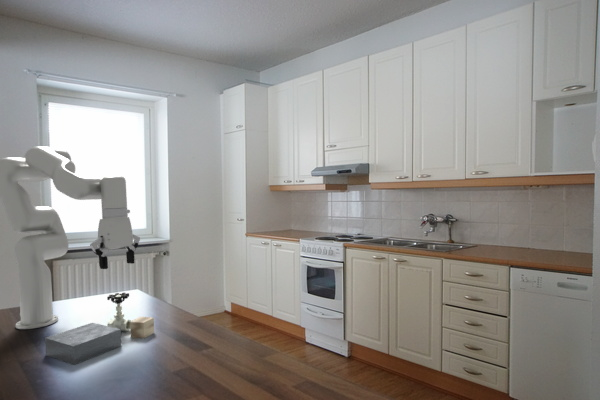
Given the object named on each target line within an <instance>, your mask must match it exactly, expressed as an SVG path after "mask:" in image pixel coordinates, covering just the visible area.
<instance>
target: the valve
mask: <svg viewBox="0 0 600 400" xmlns="http://www.w3.org/2000/svg"><path fill="white" fill-rule="evenodd" d="M129 297H130V293H126V292H121V293H119V292H116V293H114V294H109V295H108V296H107V301H110V302H112V303H115V304H116V306H115V313H114V315H113V317H114V318H110V319H109V321H108V322H107V325H106V326H109V327H113V328H117V329H121V332H130V322H131V321H132V320H130V319H124V317H125V313H124V312H123V311H122V310H123V307H122V306H123V305H121V304H122V303H123V302H124V301H126V300H127V299H128V298H129Z"/></svg>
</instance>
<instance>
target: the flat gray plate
mask: <svg viewBox="0 0 600 400" xmlns="http://www.w3.org/2000/svg"><path fill="white" fill-rule="evenodd" d="M121 332H122V331H121V329H117V328H113V327H109V326H107V325H104V324H100V323H96V322H95V323H94V322H90V323H88V324H83V325H80V326H78V327H74V328H71V329H68V330H66V331H62V332H60V333H56V334H52V335H49V336H47V337H46V336H45V337H44V343H45V344H44V345H45V356H46V357H50V358H53V359H55V360H59V361H61V362H64V363H67V364H70V365H74V366H75V365H77V364H81V363H83V362H85V361H87V360H90V359H93V358H96V357H97V356H98V357H99V356H100V355H102V354H105V353H108V352H110V351H113V350H116V349H117V348H120V347H122V333H121Z"/></svg>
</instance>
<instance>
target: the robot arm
mask: <svg viewBox="0 0 600 400" xmlns="http://www.w3.org/2000/svg"><path fill="white" fill-rule="evenodd" d="M23 156H24V157H10V156H9V157H1V158H0V201H1V203H2V207H3V210H4V212H5V215H6V218H7V221H8V224H9V226H10V228H11V230H12V232H14V233H16V234H29V235H26V236H23V237H20V238H18V240H16V241H15V243H14V244H13V245H14V246H13V254H14V255H13V256H14V258H15V261H16V265H17V272H18V273H17V274H18V290H19V291H18V292H19V309H20V310H19V311H20V313H19V316H20V320H19V321H17V322H16V323H15V328H16V329H18V330H33V329H37V328H43V327H48V326H49V325H50V326H51V325H52V324H55V323H57V322H58V321H59V316H58V315H56V314H54V312H53V311H54V310H53V308H54V307H53V306H54V305H53V290H52V289H53V288H52V286H53V285H52V273H51V270H50V267H49V266H48V265H47V263H46V262H45V261H47V260H52V259H53V260H54V259H57V258H60V257H62V256H65V255H66V253H68V250H69V240H68V237H67V235H66V230H65V228H64V226H63V223H62V221H61V217H60V215H59V214H58V212H57V211H56V210H55V209H54V208H53V207H50V206H48V205H47V206H45V205H41V206H36V205H35V204H34V203H33V201H32V198H31V195H30V194H29V192H28V191H27V190H26V189H25V188H24V186H22V185H20V183H18V182H30V183H31V182H34V183H35V182H36V183H38V182H44V181H47V180H49V179H50V180H52V183H53V185H54V187H55V188H56V190H57V191H59V192H60V193H62V194H63V195H65V196H67V197H69V198H71V199H74V200H78V201H79V200H80V201H84V200H85V201H86V200H101V201H100V202H101V218H99V223H98V229H97V239H96V240H94V241H93V242H91V243H90V244H89V246H90V248H91V250H92V252H93V253H94V254H95V255H96V256H97V257H98V263H99V264H98V265H99V268H100V270H107V269H108V268H109V264H108V263H109V261H108V260H109V259H108V256H106V255H107V254H108V252H109V251H110V250H111V251H112V250H118V249H124V248H125V249H126V250H127V251H126V263H127V264H130V265H131V264H135V260H136V259H135V252H136V249H137V247H139V243H140V241H141V237H140V236H138V235H135V234H133V227H132V222H131V219H130V217H129V215H128V214H130V213H131V210H130V209H128V199H127V181H126V177H124V176H121V175H107V176H101V177H100V176H81V175H77V174H75V173H76V164H75V163H74V161H72V158H71V155H70V153H69V152H68V151H67V150H65V149H64V148H63V149H62V148H59V147H51V146H41V145H39V146H38V145H37V146H33V147H30V148H29V149H27V150H26V151H25V153H24V155H23ZM31 233H40V234H31ZM30 234H31V235H30Z"/></svg>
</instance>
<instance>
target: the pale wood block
mask: <svg viewBox="0 0 600 400" xmlns="http://www.w3.org/2000/svg"><path fill="white" fill-rule="evenodd" d="M154 319H155V318H154V317H151V316H148V317H147V316H139V317H137V318H135V319H133V320H131V322H130V330H129V332H130V338H134V339H135V338H136V339H146V338H148V337H149V336H151V335H153V334H154V333H155V321H154Z"/></svg>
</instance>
